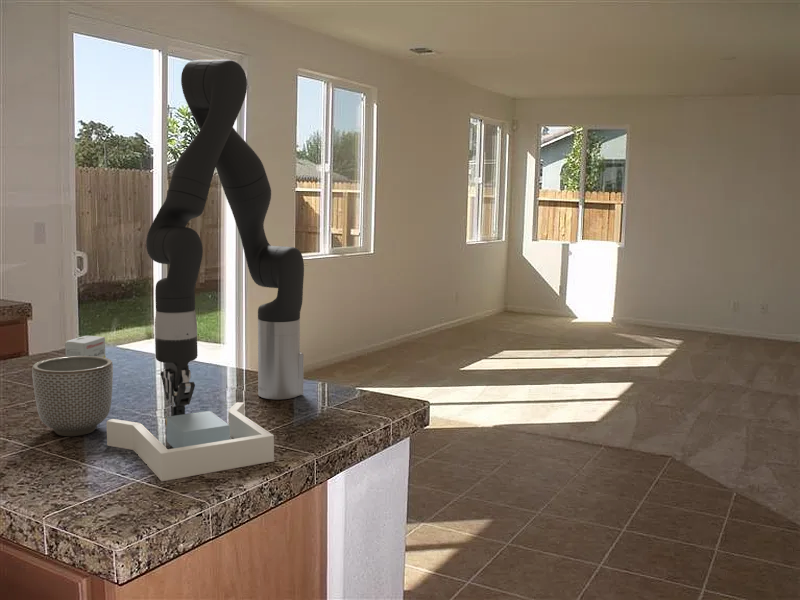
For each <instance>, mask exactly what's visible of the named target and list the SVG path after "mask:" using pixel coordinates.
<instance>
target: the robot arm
mask: <svg viewBox="0 0 800 600" xmlns="http://www.w3.org/2000/svg"><path fill="white" fill-rule="evenodd" d="M180 84H181V89H182V94H183V97H184V99H185V101H186V104H187V106H188V108H189V110H190V112H191V114H192V116H193V119H194V120H195V123H196V125H197V127H198V128H199V131H198V133H197V134H196V136H195V137H194V138H193V139H192V141H191V142H190V143H189V145H188V146H187V147H186V149H184V151H183V152H182V153H181V155H180V156H179V159H177V162H176V164H175V165H174V168H173V171H172V174H171V179H170V182H169V186H168V189H167V193H166V197H165V200H164V202H163V204H162V205H161V207H159V208H160V209H159V210H158V212H157V213H156V215H155V217H154V219H153V221H152V223H151V225H150V226H149V229H148V232H147V235H146V241H145V244H146V245H145V246H146V251H147V254H148V257H149V258H150V259H151V260H152V261H153V262H156V263H158V264H163V265H169V267H168V268H169V269H168V272H167V276H166V277H165V278H161V279H159V280H158V281H156V284H155V293H154V295H155V317H154V318H155V319H154V344H155V345H154V349H155V351H154V352H155V359H156V360H157V361H158V362H160V363H163V364H164V369H163V370H161V371H160V377H161V381H162V386H163V390H164V394H165V399H166V400H167V401H168V403H169V406H170V416H176V415H183V414H186V406H189V405H190V404H191V400H192V397H193V394H194V391H195V387H196V384H195V381H190V380H191V378H192V376H191V375H192V374H191V369H190V367H189V363H190V362H193V361H195V360H197V358H198V323H197V322H198V320H197V315H196V293H195V292H196V290H195V288H196V284H197V281H198V277H199V273H200V269H201V268H200V267H201V264H202V260H203V253H204V251H203V250H204V248H203V243H202V240H201V237H200V235H199V234H198V232H197V231H195V230H194V229H193V228H191V227H187V226H188V223H189V222H190V221H191V220H193V219H195V218H199V217H201V216H202V214H203V212H204V210H205V208H206V202H207V200H208V196H209V195H208V194H209V192H210V188H211V184H212V180H213V176H214V173H215V171H216V172H217V174H218V178H219V181H220V184H221V187H222V191H223V192H224V195H225V197H226V200H227V202H228V205H229V207H230V210H231V212H232V216H233V219H234V221H235V224H236V227H237V230H238V234H239V237H240V239H241V240H240V241H241V245H242V249H243V253H244V257H245V261H246V264H247V268H248V271H249V274H250V277H251V279H252V280H253V282H254V283H255V284H256V285H257V286H259V287H262V288H269V289H270V288H271V289H277V294H276V295H277V296H276V298H274V299H273V300H272V301H269V302H267V303H263V304H261V305H260V306H258V308H257V377H258V378H257V390H258V391H257V395H258V396H259V397H261V398H263V399H267V400H287V399H293V398H296V397H298V396H303V395H304V362H305V361H304V352H301V310H302V305H303V297H304V294H303V293H304V277H305V265H304V261H305V260H304V257H303V255H302V252H301V251H300V249H299V248H297V247H294V246H286V245H285V246H283V245H281V246H280V245H271V244H270V242H269V241H268V239H267V236H266V235H267V234H266V233H265V228H264V226H265V225H264V224H265V220H266V215H267V214H268V210H269V207H270V204H271V200H272V188H271V184H270V182H269V179H268V176H267V173H266V170H265V166H264V163H263V162H262V160H261V159H260V157H259V156H258V153H256V152H255V150H254V149H253V148H252V147H251V146H250V145H249V144H248V143H247V142H246V140H244V138H243V137H242V136H241V135H240V134H239V132H237V130H236V129H235V128H234V126H235V123H236V120H237V118H238V116H239V114H240V111H241V109H242V107H243V105H244V102H245V99H246V95H247V93H248V92H247V90H248V79H247V76H246V72H245V69H244V68H243V67H242V65H241V64H240V63H239V62H236V61H235V60H231V59H196V60H195V59H194V60H191V61H189V62H187V63H186V64H185V66H184V67H183V68H182V72H181V76H180Z"/></svg>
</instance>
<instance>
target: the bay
mask: <svg viewBox="0 0 800 600" xmlns="http://www.w3.org/2000/svg"><path fill="white" fill-rule="evenodd" d="M227 413H228V414H227V415H228V417H227V418H228V421H227V422H228V424H229V425H230V440H224V441H218V442H211V443H205V444H199V445H192V446H186V447H180V448H174V449H169V448H167V447H166V446H165V445H164V444H163V443H162V442H161V441H160V440H159V439H158V438H157V437H156V436H155V435H153V434H152V432H150V431H149V430H148V428H146V427H145V426H144V424H142V423H140V422H136V421H135V422H134V421H130V420H123V419H117V418H110V419H108V420H106V443H107V444H106V445H107V446H109V447H112V448H113V447H114V448H120V449H126V450H132V451H134V452H135V454H136V455H137V454H138V457H139V458H140V459H141V460H142V461H143V462H144V463H145V465H146V464H147V465H146V466H147V467H148V468H149V469H150V471H152V473H154V475H155V476H156V477H158V479H159V480H160V481H161V482H165V481H171V480H176V479H181V478H187V477H192V476H193V477H194V476H198V475H204V474H205V475H206V474H209V473H210V474H211V473H215V472H219V471H227V470H233V469H238V468H243V467H248V466H254V465H255V466H256V465H259V464H261V465H262V464H265V463H270V462H271V463H272V462H275V436H274V434H273V433H271V432H270V431H268V430H266V429H265V428H263V427H262V426H260V425H259V424H257V423H256V422H255V421H253V420H251V419H250V418H248V417H247V416H246V415H245V402H241V401H240V402H238V401H237V402H235V403H234V404H233V405H232V406H231V407H230V408H229V409H228V412H227ZM231 438H232V439H231Z"/></svg>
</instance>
